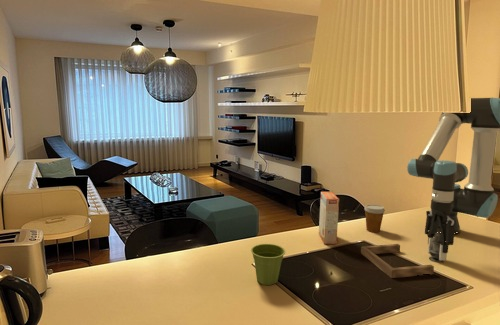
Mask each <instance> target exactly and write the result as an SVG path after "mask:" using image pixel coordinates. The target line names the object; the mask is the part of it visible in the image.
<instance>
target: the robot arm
mask: <svg viewBox="0 0 500 325" xmlns="http://www.w3.org/2000/svg"><path fill="white" fill-rule="evenodd" d="M470 98H471V112H470V113H443V112H441V114H440V116H439V119H438V124H437V126H436V128H434V131H433V132H432V134H431V135H430V138H429V139H428V141H427V143H426V144H425V146H424V147H423V149H422V151H421V153H420V155H419V156H418V157H417V158H411V159H409V161H408V163H407V166H406V168H407V170H406V171H407V173H408V175H410V176H413V177H416V178H424V179H432V188H431V189H432V190H431V200H430V210H427V211H426V220H425V226H424V227H425V228H424V234H425V235H427V254H428V255H430V251H429V249H431V248H433V244H434V242H433V241H434V236H435V234H436V232H438V231H440V232H441V238H442V243H441V244H440V252H439V260H440V261H441V260H444V261H446V260H447V254H448V253H449V246H453V245H454V240H455V234H454V233H456V232H459V231H460V232H461V226H460V222H459V218H458V214H459V213H460V214H463V215H468V216H469V215H470V216H474V217H477V218H482V219H483V218H484V219H488V218H489V217H491V216H492V215H493V213H494V212H495V209H496V208H497V203H498V199H499V196H498V194H496V193H495V192H494V191H495V189H494V187H493V186H492V185H491V182H492V174H493V173H492V172H493V168H494V167H493V166H494V165H493V164H494V159H495V151H496V150H495V149H496V141H497V133H498V132H499V131H500V97H470ZM463 124H470V128H471V129H472V130H473V140H472V149H471V157H470V158H471V159H470V166H469V168H468V167H467V165H465V164H464V163H461V162H455V161H453V160H444V159H443V160H440V158H441V156H442V154H443V153H444V151H445V149H446V148H447V145H448V143H449V142H450V140H451V138H452V137H453V135H454V133H455V131H456V130H457V129H458V128H460V127H461V125H463ZM467 177H468V182H467V183H466V184H464V185H463V188H462V187H461V184H459V183H460V182H462V181H464V180H465V179H466V178H467ZM457 183H458V184H457Z"/></svg>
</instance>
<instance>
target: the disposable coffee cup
mask: <svg viewBox="0 0 500 325" xmlns="http://www.w3.org/2000/svg"><path fill="white" fill-rule="evenodd" d="M364 212H365V213H364V214H365V226H366V227H365V228H366V231H367V232H369V233H370V232H371V233H380V232H381V229H382V228H381V226H382V223H383V222H382V221H383V217H384V213H385V212H386V209H385V207H384V206H382V205H380V204H366V205H365V206H364Z"/></svg>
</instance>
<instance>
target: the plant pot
mask: <svg viewBox="0 0 500 325" xmlns="http://www.w3.org/2000/svg"><path fill="white" fill-rule="evenodd" d="M250 252H251V254H252V257H253V258H252V259H253V262H254V268H255V274H256V275H255V276H256V281H257V282H258V283H259V284H260V285H263V286H271V285H275V284H277V283H278V280H279V276H280V271H281V266H282V261H283V259H284V258H283V257H284V255H286V249H285V248H284V247H282V246H281V245H279V244H274V243H273V244H272V243H261V244H256V245H253V246H252V247H251V250H250Z"/></svg>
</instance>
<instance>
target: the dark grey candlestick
mask: <svg viewBox="0 0 500 325" xmlns="http://www.w3.org/2000/svg"><path fill="white" fill-rule="evenodd" d="M433 238H434V241H433V242H434V244H433V248H431V249H429V251H430V254H429V255H430V257H428V260H430V261H432V262H435V263H444V262H443V260H441V261H440V260H439V252H440V244H441V243H442V238H441V233H440V231H438V233H436V234H435V236H434V237H433Z"/></svg>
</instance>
